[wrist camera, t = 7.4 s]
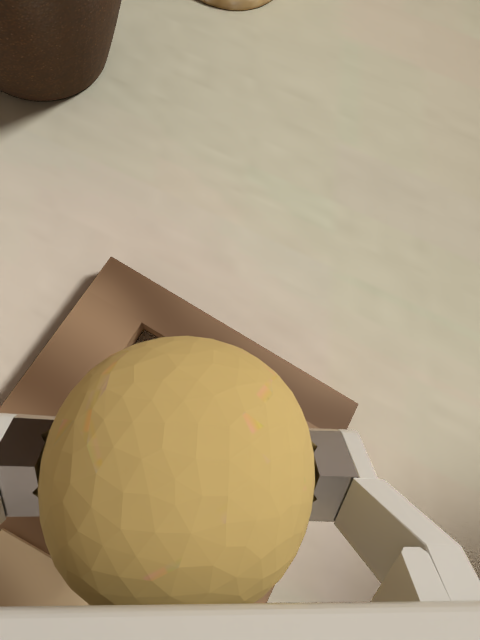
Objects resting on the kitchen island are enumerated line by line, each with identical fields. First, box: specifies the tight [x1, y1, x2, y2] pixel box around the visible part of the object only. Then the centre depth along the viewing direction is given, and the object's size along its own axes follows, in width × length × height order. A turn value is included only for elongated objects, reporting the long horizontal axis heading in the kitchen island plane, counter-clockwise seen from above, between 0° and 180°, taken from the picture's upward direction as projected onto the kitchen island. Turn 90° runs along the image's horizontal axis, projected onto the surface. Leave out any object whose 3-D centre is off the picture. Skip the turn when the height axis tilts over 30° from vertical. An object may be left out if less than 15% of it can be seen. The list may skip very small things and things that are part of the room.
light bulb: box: [38, 336, 315, 605], centre depth 12 cm, size 6×6×10 cm
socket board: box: [0, 257, 358, 606], centre depth 17 cm, size 22×14×2 cm, turn 150°
